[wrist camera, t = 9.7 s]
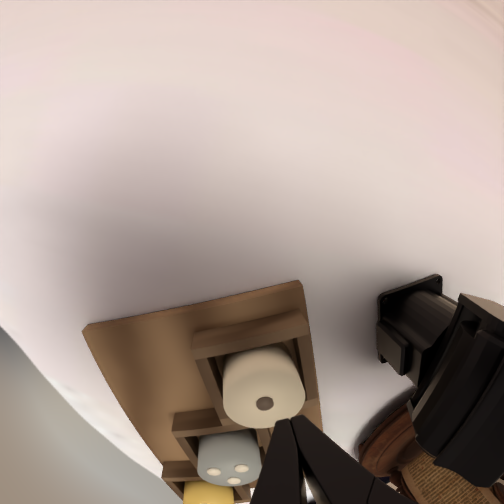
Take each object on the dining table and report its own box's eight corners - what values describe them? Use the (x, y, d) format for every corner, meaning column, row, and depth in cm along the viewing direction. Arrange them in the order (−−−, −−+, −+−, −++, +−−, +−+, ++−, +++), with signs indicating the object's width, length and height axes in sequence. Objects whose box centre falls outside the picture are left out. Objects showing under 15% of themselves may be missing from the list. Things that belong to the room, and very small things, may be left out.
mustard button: (225, 465, 21) (226, 499, 17) (237, 486, 22) (240, 516, 18) (178, 469, 21) (174, 501, 17) (194, 489, 22) (193, 519, 18)
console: (298, 279, 19) (312, 298, 16) (323, 463, 24) (331, 485, 21) (87, 324, 19) (68, 346, 15) (187, 486, 24) (186, 507, 21)
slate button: (250, 414, 20) (254, 453, 15) (262, 447, 21) (267, 483, 17) (191, 423, 19) (187, 462, 15) (209, 454, 20) (209, 490, 16)
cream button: (285, 328, 18) (300, 363, 14) (296, 381, 19) (309, 419, 15) (214, 344, 18) (212, 383, 14) (232, 395, 19) (234, 436, 15)
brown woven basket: (428, 357, 22) (554, 486, 3) (470, 393, 25) (552, 478, 6) (328, 454, 24) (383, 600, 5) (394, 467, 27) (447, 564, 7)
